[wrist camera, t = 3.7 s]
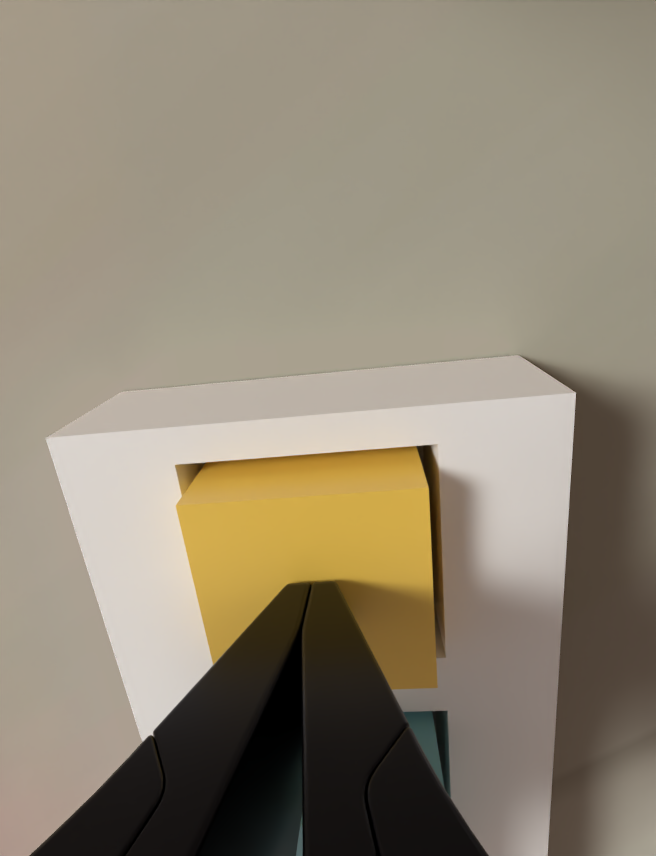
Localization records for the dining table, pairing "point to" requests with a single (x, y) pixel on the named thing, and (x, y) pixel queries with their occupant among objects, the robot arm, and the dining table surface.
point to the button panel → (450, 541)
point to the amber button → (318, 547)
